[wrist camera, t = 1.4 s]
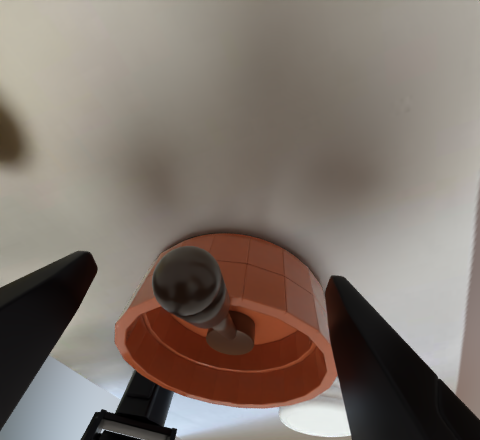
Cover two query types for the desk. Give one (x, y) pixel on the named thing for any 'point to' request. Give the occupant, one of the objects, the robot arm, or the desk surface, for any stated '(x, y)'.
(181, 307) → the brown utensil
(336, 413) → the white round lid
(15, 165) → the desk surface
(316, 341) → the bowl
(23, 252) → the desk surface
